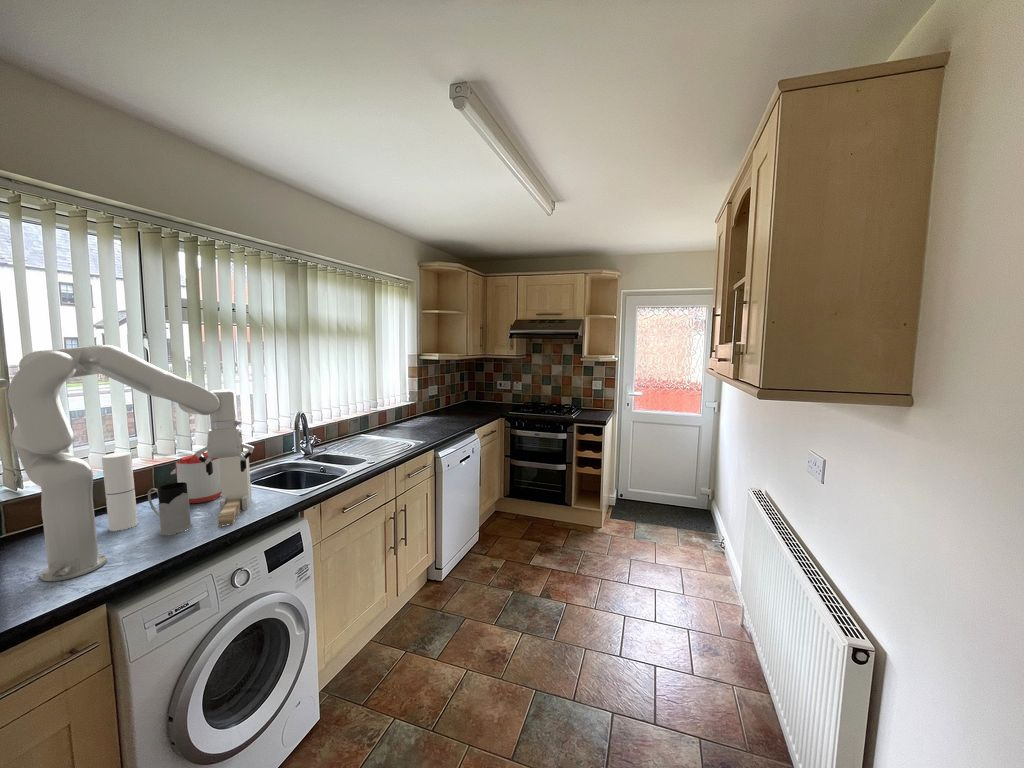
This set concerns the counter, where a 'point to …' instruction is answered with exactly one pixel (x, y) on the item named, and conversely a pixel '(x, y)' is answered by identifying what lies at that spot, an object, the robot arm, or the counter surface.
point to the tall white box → (235, 481)
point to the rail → (229, 512)
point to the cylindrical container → (119, 491)
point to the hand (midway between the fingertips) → (226, 472)
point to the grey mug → (172, 508)
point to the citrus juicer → (199, 478)
